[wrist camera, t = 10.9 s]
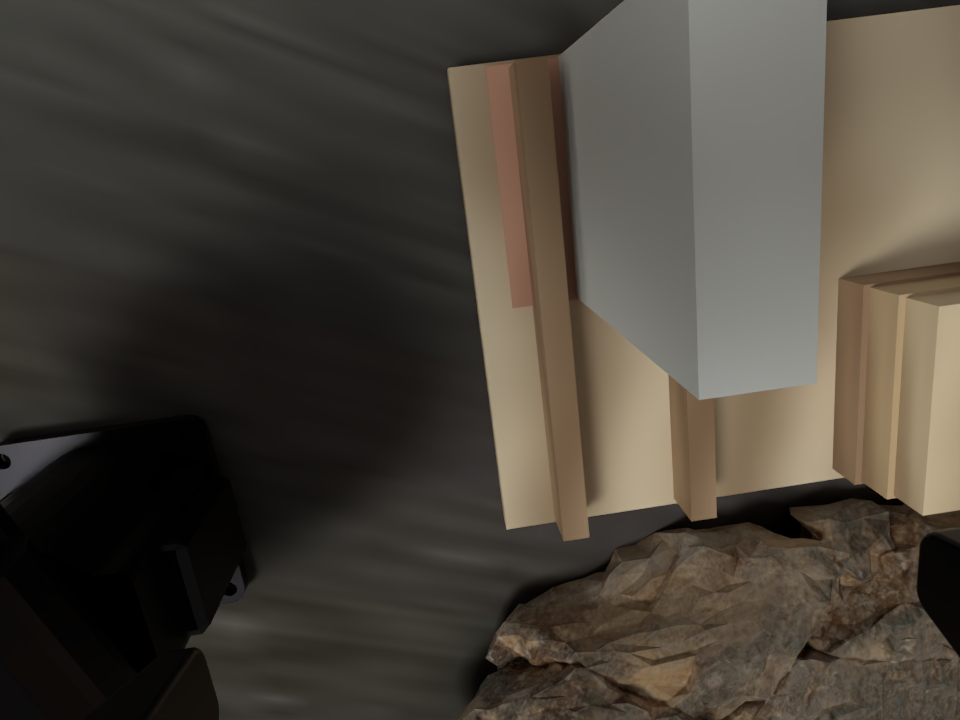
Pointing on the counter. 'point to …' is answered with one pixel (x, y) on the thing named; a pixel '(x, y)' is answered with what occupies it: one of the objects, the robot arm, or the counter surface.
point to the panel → (701, 185)
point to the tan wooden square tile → (861, 359)
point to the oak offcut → (888, 376)
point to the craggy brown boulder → (736, 628)
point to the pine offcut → (930, 405)
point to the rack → (619, 364)
